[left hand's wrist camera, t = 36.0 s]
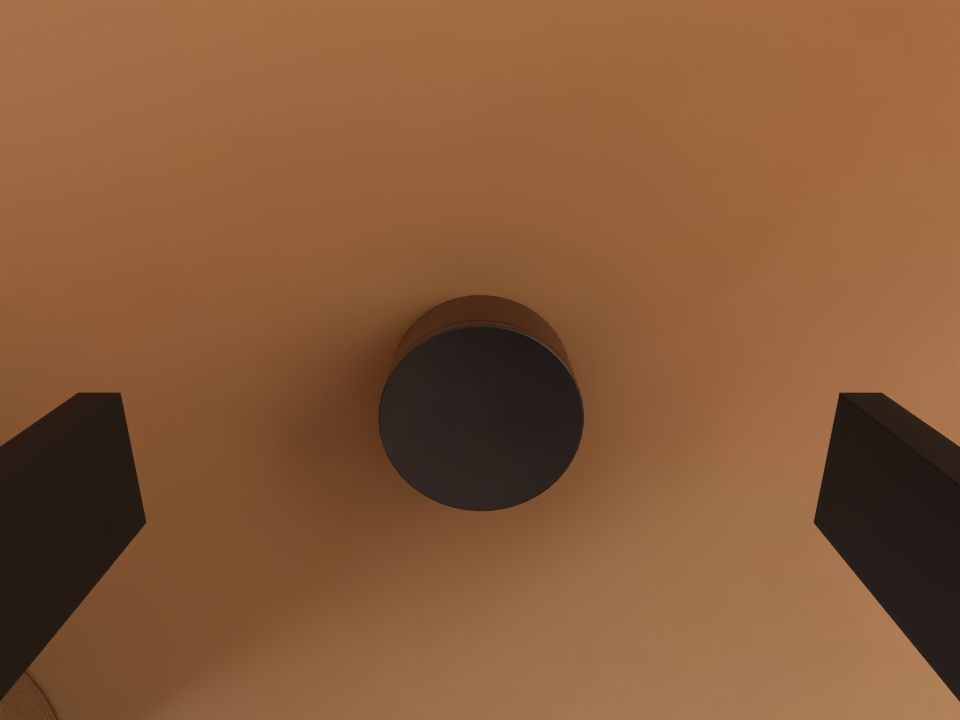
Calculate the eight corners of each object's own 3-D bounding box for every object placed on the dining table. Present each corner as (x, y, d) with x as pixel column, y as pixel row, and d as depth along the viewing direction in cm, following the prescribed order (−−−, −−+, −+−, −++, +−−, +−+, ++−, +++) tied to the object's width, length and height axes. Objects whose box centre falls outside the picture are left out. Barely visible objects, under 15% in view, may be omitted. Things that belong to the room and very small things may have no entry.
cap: (417, 272, 15) (407, 299, 13) (595, 323, 15) (613, 357, 13) (373, 435, 16) (357, 484, 14) (537, 478, 17) (546, 531, 14)
